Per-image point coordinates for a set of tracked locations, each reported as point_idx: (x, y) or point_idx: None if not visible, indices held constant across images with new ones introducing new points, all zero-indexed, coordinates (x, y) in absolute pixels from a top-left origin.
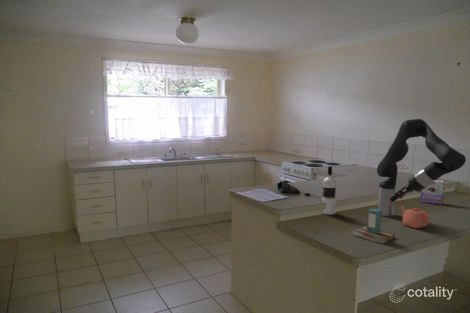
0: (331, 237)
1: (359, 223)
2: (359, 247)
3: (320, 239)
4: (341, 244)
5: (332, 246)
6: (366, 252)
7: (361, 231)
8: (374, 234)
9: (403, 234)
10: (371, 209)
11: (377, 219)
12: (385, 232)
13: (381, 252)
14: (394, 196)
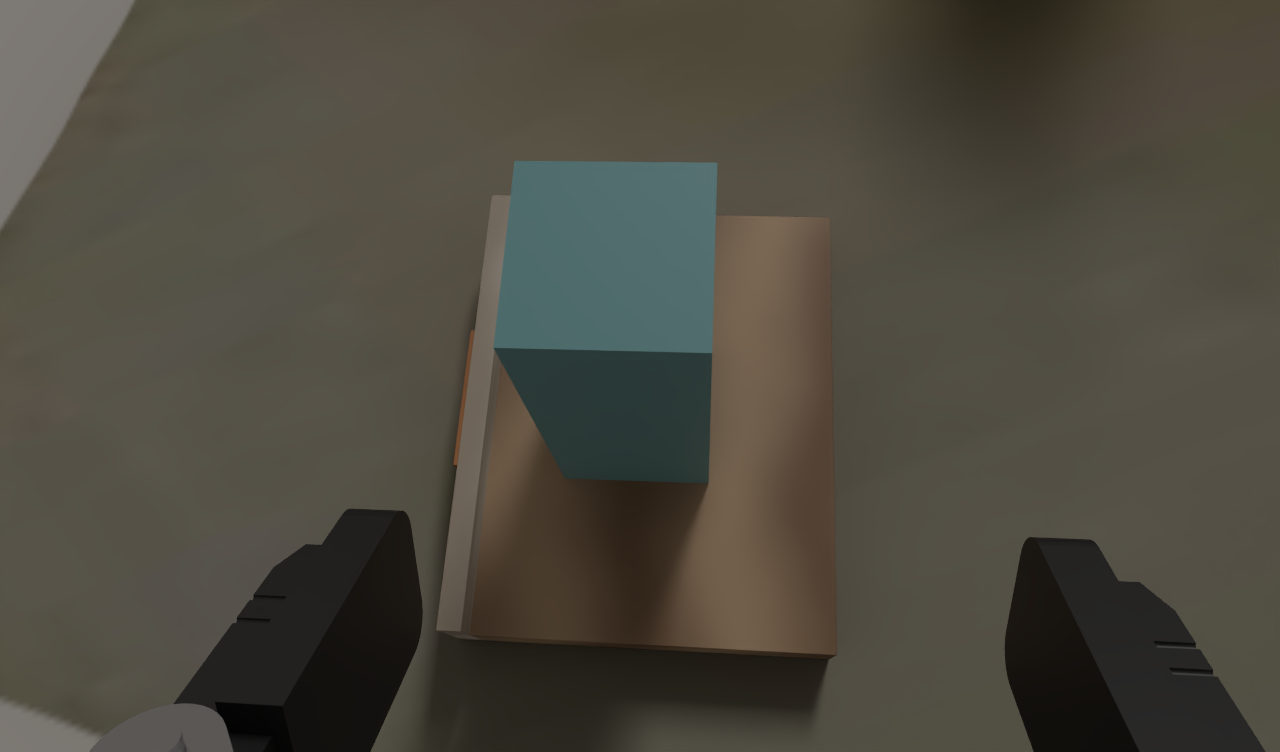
0: (271, 118)
1: (1018, 93)
2: (144, 470)
3: (140, 76)
4: (121, 287)
5: (6, 252)
6: (28, 601)
7: (478, 304)
8: (474, 479)
9: None
10: (611, 188)
11: (543, 403)
12: (787, 527)
13: None
14: (192, 700)
